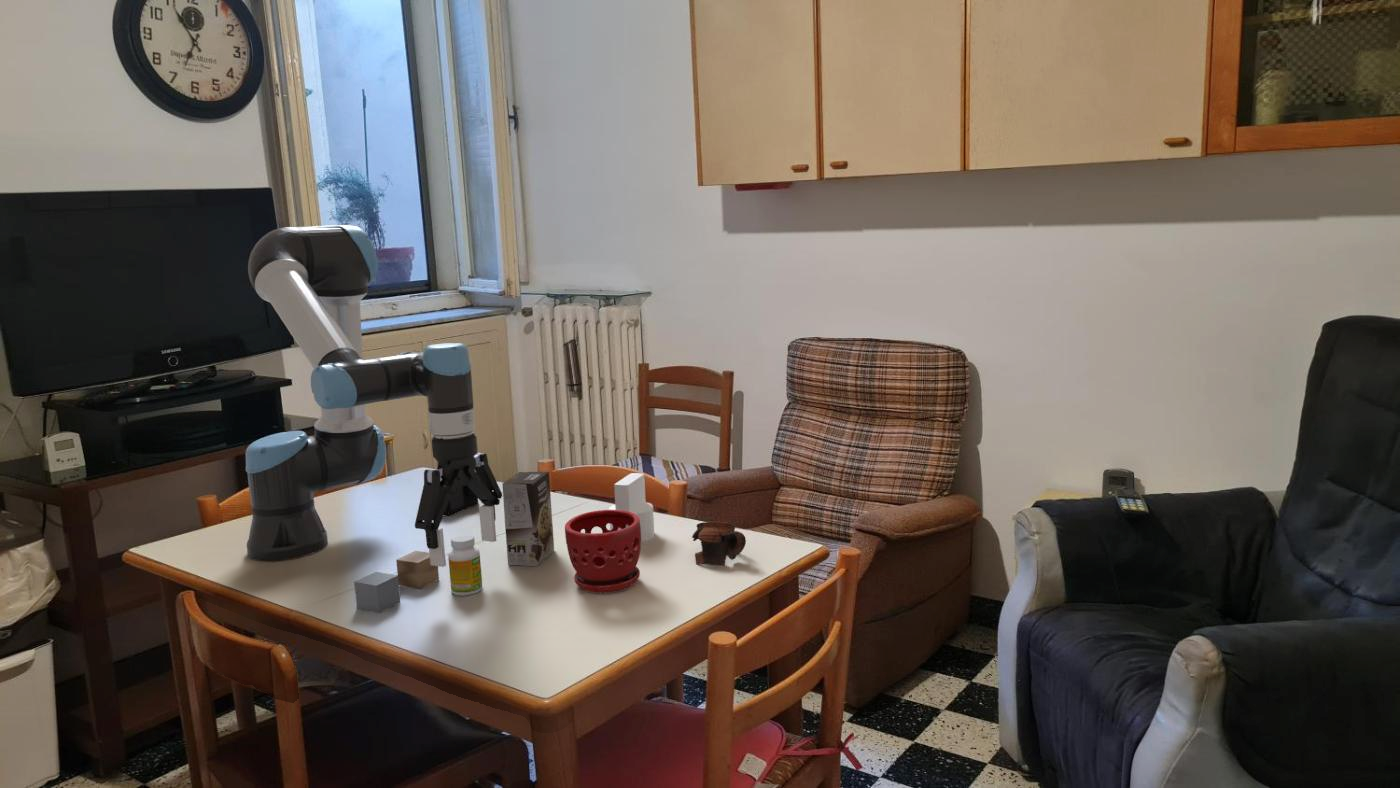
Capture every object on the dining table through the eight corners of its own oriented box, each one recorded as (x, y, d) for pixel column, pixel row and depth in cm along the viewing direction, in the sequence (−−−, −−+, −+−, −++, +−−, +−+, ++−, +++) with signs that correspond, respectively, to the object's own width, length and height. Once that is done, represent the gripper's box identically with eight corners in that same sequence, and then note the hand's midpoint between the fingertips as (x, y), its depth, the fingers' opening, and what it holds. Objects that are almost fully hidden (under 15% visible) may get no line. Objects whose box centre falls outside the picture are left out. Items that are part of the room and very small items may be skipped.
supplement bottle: (478, 595, 167) (474, 542, 165) (447, 596, 167) (442, 543, 165) (485, 584, 172) (481, 532, 171) (455, 585, 172) (451, 533, 171)
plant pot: (575, 572, 176) (571, 509, 174) (646, 570, 176) (643, 507, 174) (562, 600, 164) (558, 533, 162) (639, 598, 163) (636, 531, 161)
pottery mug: (680, 566, 179) (682, 522, 182) (711, 573, 186) (712, 531, 189) (732, 560, 172) (733, 515, 175) (762, 569, 179) (763, 525, 182)
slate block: (357, 609, 163) (354, 581, 162) (378, 598, 168) (375, 571, 167) (379, 613, 161) (376, 585, 160) (400, 602, 166) (397, 575, 165)
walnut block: (398, 586, 173) (396, 559, 173) (418, 576, 178) (415, 550, 177) (420, 589, 171) (417, 562, 170) (439, 579, 176) (436, 553, 175)
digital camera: (453, 517, 213) (450, 486, 212) (434, 515, 216) (431, 484, 214) (482, 504, 222) (480, 475, 221) (464, 502, 225) (461, 473, 224)
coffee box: (539, 566, 180) (533, 483, 177) (506, 565, 181) (500, 483, 179) (555, 550, 189) (550, 470, 186) (525, 549, 190) (519, 470, 187)
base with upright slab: (644, 544, 190) (641, 486, 188) (603, 541, 193) (599, 483, 191) (660, 530, 199) (658, 474, 196) (620, 527, 201) (617, 472, 199)
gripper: (420, 451, 152) (432, 579, 156) (515, 420, 174) (524, 533, 178) (384, 449, 155) (397, 574, 159) (482, 418, 177) (492, 529, 181)
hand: (464, 552), depth 168 cm, fingers open, 13 cm apart
